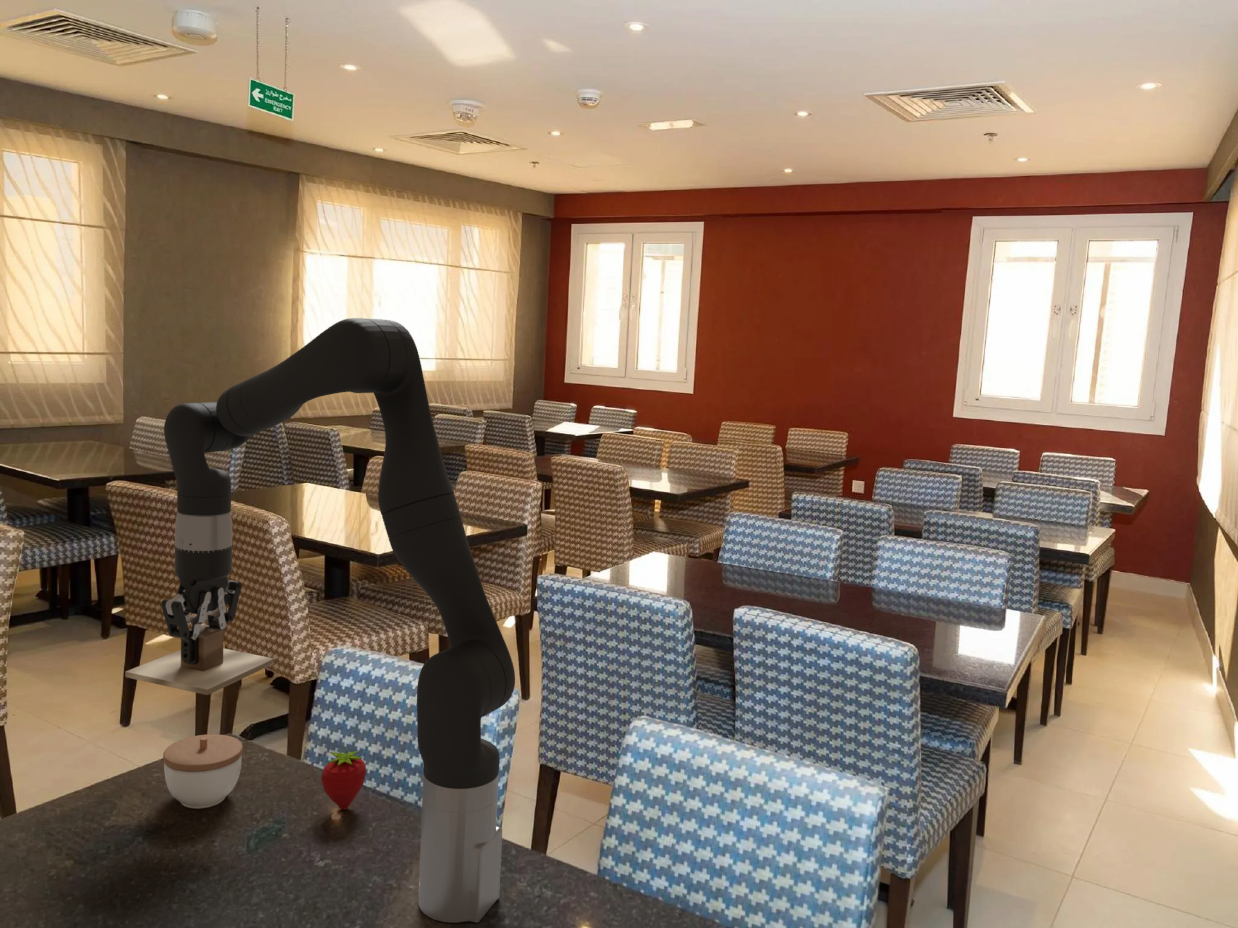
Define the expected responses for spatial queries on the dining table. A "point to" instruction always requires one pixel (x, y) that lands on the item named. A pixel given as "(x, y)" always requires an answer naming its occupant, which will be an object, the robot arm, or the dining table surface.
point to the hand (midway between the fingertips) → (202, 657)
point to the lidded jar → (202, 769)
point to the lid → (202, 666)
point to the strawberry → (343, 778)
